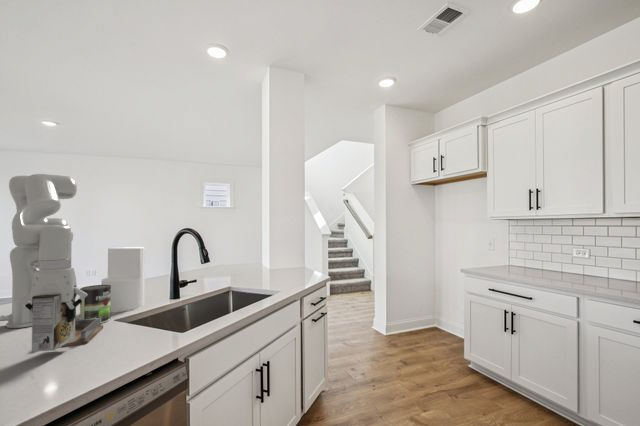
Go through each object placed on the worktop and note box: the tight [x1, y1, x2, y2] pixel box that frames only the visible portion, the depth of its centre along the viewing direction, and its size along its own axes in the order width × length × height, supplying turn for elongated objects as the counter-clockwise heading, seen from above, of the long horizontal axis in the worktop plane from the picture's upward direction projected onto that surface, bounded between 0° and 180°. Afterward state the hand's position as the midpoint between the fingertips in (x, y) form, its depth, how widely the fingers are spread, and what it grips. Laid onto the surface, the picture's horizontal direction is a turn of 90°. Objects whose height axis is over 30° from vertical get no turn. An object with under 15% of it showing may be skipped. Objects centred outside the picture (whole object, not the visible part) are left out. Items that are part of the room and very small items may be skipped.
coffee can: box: [79, 284, 112, 325], centre depth 123 cm, size 10×10×14 cm
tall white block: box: [100, 246, 146, 313], centre depth 145 cm, size 17×17×28 cm
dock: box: [60, 318, 104, 348], centre depth 106 cm, size 13×16×4 cm
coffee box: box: [31, 294, 76, 352], centre depth 93 cm, size 9×6×16 cm
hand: (54, 322), depth 93 cm, fingers closed on coffee box, 7 cm apart
